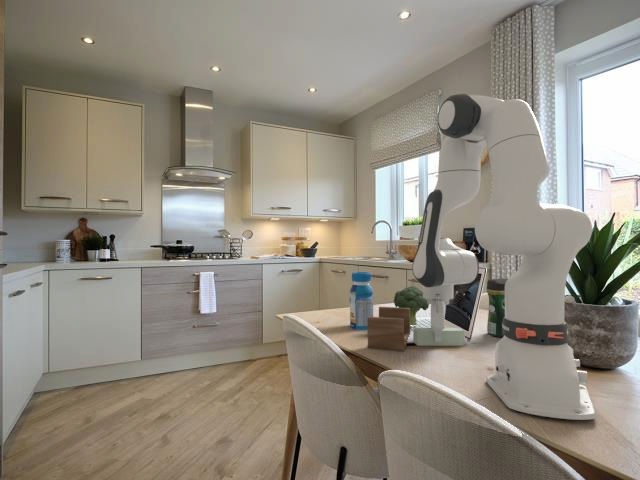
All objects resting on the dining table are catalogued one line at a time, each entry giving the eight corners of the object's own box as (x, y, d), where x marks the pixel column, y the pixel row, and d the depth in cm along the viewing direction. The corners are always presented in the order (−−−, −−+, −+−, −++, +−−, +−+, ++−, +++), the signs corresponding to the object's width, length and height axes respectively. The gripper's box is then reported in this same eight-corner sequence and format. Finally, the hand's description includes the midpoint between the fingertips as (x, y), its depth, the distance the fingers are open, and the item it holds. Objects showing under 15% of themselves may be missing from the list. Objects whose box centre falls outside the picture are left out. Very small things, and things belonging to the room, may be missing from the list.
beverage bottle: (366, 333, 127) (365, 273, 127) (345, 330, 132) (344, 272, 132) (378, 329, 134) (377, 272, 134) (357, 325, 139) (357, 271, 139)
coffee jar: (510, 332, 128) (510, 277, 128) (524, 337, 120) (524, 279, 120) (483, 332, 127) (482, 277, 128) (495, 338, 120) (494, 279, 120)
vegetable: (415, 333, 126) (415, 288, 127) (385, 327, 136) (385, 285, 136) (435, 328, 134) (435, 286, 135) (405, 322, 144) (405, 283, 144)
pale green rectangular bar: (458, 342, 115) (458, 327, 115) (464, 345, 111) (464, 330, 111) (413, 342, 115) (413, 328, 115) (417, 346, 111) (417, 331, 111)
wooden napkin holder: (403, 352, 105) (403, 319, 105) (367, 349, 108) (367, 317, 108) (410, 335, 124) (409, 308, 124) (379, 333, 127) (379, 306, 127)
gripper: (449, 297, 102) (449, 348, 102) (448, 288, 122) (449, 331, 122) (425, 296, 104) (425, 346, 104) (428, 288, 124) (428, 330, 124)
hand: (438, 338), depth 113 cm, fingers closed on pale green rectangular bar, 5 cm apart
